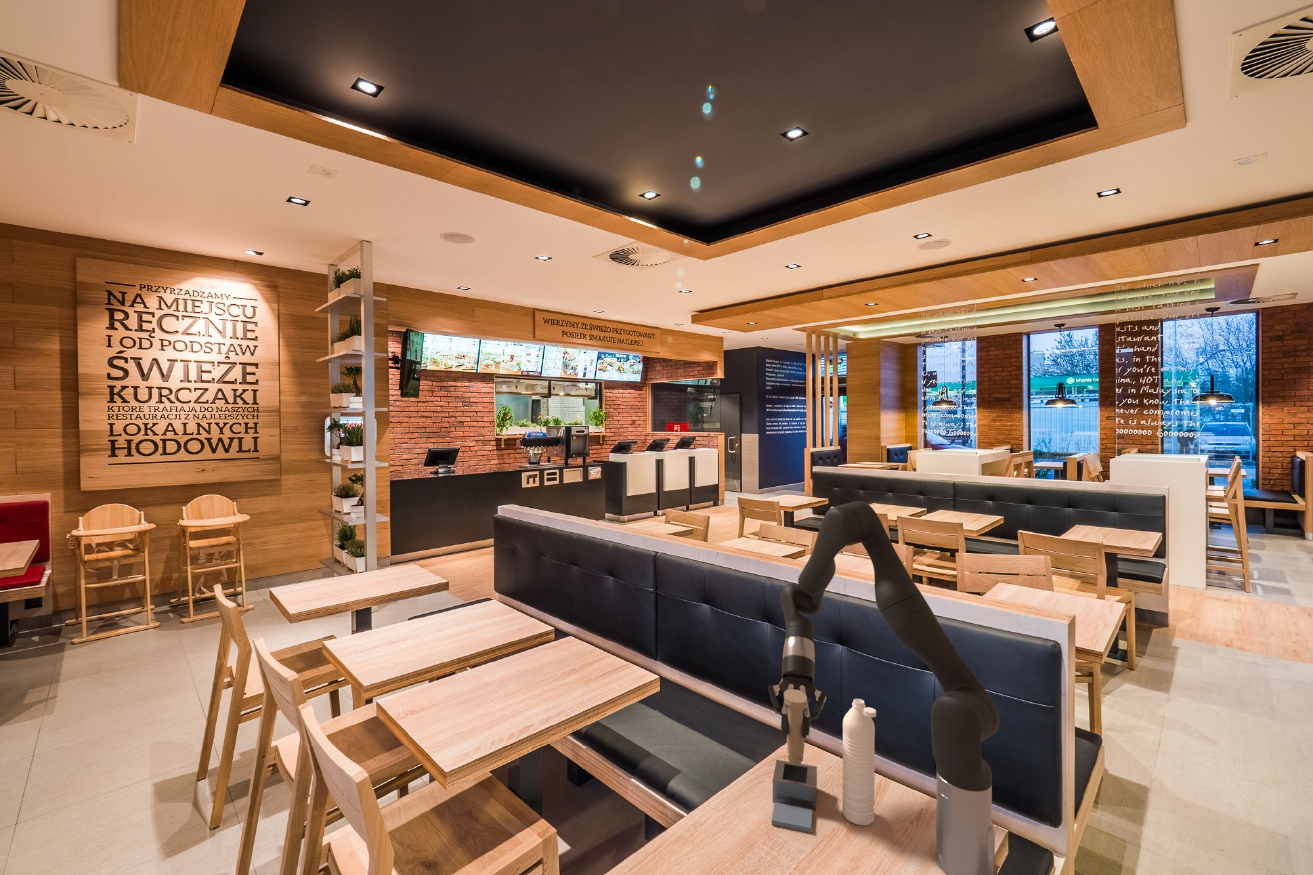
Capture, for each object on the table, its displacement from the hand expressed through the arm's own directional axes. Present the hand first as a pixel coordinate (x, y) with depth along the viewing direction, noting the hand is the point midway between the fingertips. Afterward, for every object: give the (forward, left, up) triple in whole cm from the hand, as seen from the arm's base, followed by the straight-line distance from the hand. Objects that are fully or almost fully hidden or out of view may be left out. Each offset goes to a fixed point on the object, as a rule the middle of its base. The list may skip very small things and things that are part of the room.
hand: (795, 735), depth 127 cm
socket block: (0, -2, -15) cm, 15 cm away
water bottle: (-14, +2, -15) cm, 20 cm away
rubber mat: (0, +7, -15) cm, 16 cm away
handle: (0, -2, -7) cm, 7 cm away
